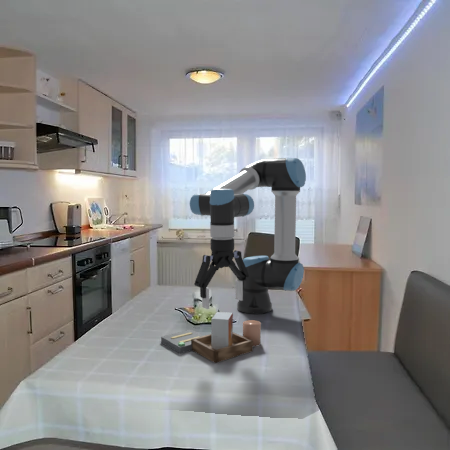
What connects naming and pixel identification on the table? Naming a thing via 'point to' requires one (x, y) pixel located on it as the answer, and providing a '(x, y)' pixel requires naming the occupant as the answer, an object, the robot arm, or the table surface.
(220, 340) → the small box
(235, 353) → the wooden tray
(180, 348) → the grey square slab
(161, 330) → the table surface
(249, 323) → the peach rounded capsule
